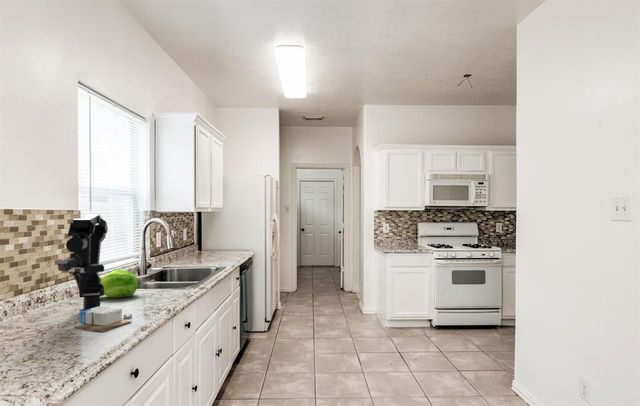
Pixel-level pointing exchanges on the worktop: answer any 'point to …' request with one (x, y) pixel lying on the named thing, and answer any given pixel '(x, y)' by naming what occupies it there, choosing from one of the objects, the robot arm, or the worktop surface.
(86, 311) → the ink box
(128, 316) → the silver domed disc
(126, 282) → the lettuce
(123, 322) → the walnut board
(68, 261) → the robot arm
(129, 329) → the worktop surface
